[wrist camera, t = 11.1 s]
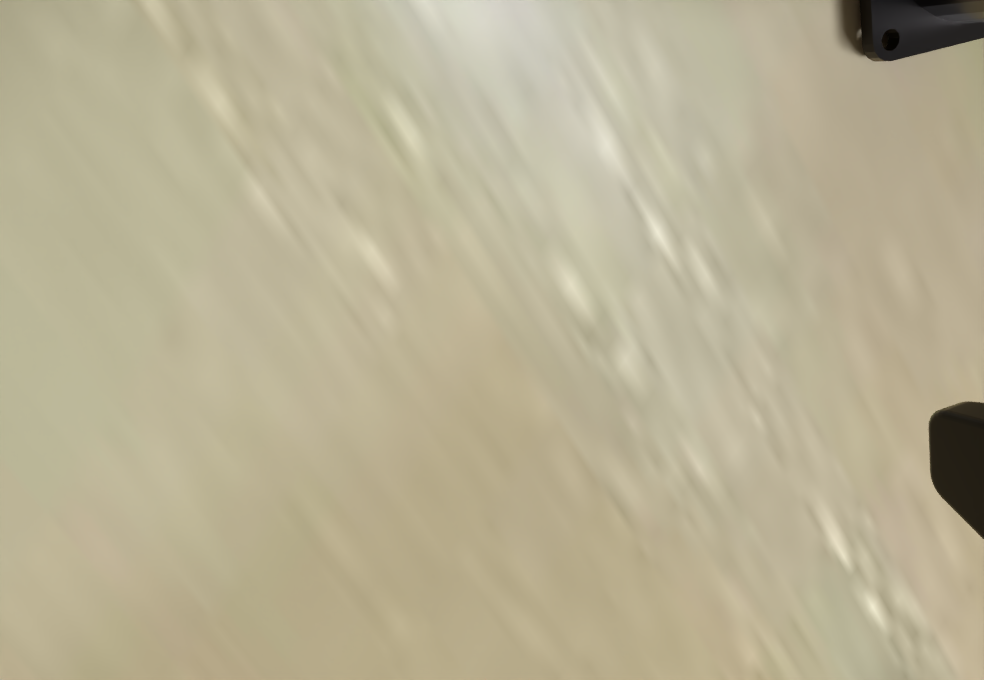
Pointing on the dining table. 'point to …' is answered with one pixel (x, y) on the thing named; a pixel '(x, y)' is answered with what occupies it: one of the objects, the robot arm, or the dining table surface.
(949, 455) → the robot arm
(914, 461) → the dining table surface
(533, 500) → the dining table surface
